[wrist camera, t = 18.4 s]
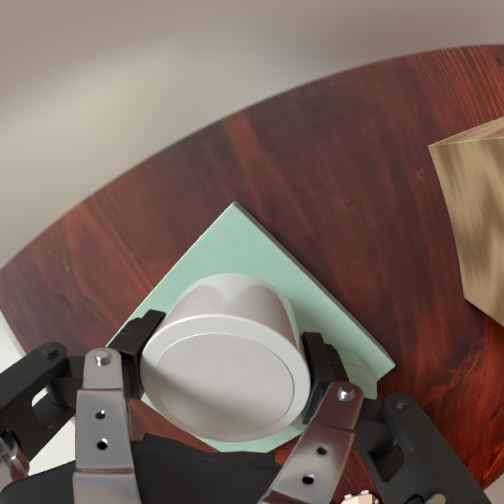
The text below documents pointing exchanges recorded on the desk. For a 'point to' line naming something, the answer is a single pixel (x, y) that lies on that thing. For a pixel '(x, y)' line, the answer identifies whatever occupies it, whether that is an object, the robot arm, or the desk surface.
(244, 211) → the scale
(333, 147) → the desk surface
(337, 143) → the desk surface
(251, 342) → the ramekin
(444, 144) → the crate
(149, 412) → the desk surface
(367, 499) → the mouse figurine
